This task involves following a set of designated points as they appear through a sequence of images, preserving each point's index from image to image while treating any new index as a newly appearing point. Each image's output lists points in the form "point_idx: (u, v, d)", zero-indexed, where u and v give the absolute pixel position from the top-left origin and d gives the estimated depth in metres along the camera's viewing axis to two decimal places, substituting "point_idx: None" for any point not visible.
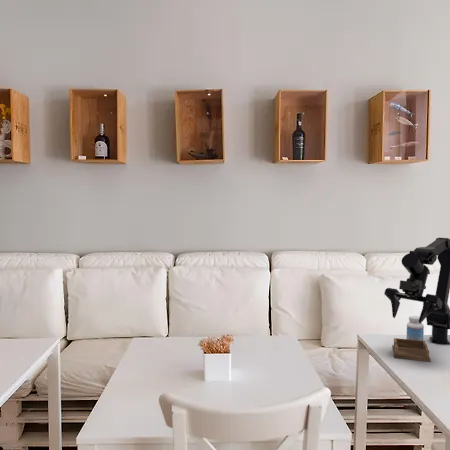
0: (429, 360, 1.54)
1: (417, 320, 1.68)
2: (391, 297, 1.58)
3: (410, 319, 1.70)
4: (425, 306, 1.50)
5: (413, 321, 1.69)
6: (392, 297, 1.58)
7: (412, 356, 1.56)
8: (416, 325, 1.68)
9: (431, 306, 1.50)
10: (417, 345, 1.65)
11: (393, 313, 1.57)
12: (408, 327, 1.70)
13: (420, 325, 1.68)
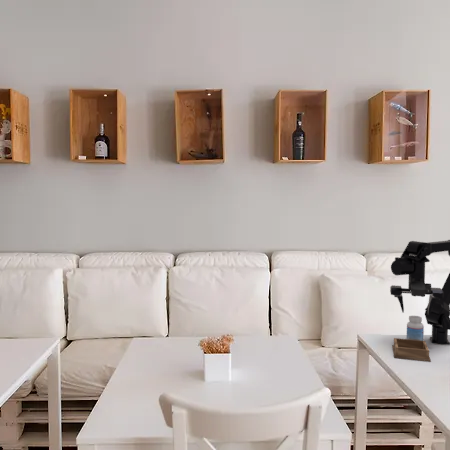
0: (429, 360, 1.54)
1: (417, 320, 1.68)
2: (399, 297, 1.69)
3: (410, 319, 1.70)
4: (433, 301, 1.66)
5: (413, 321, 1.69)
6: (400, 297, 1.69)
7: (412, 356, 1.56)
8: (416, 325, 1.68)
9: None
10: (417, 345, 1.65)
11: (402, 309, 1.71)
12: (408, 327, 1.70)
13: (420, 325, 1.68)
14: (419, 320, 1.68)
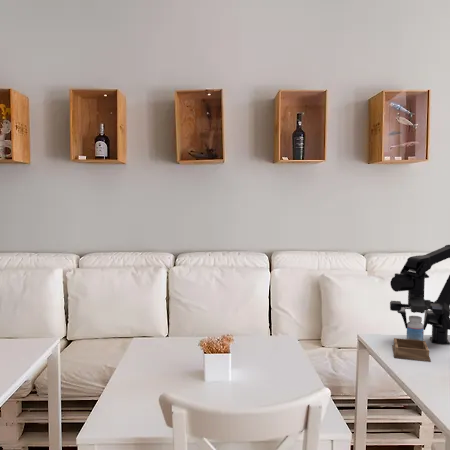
0: (429, 360, 1.54)
1: (417, 320, 1.68)
2: (402, 313, 1.69)
3: (410, 319, 1.70)
4: (428, 317, 1.67)
5: (413, 321, 1.69)
6: (404, 313, 1.69)
7: (412, 356, 1.56)
8: (416, 325, 1.68)
9: None
10: (417, 345, 1.65)
11: (406, 325, 1.71)
12: (408, 327, 1.70)
13: (420, 325, 1.68)
14: (419, 320, 1.68)
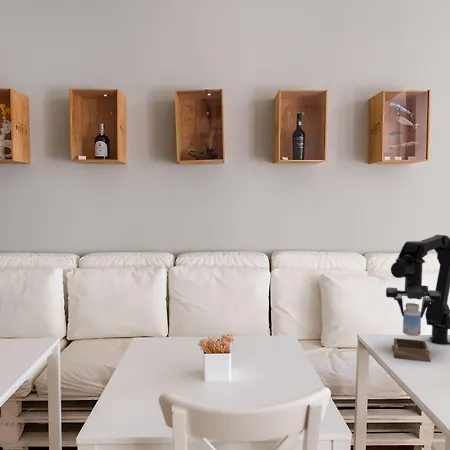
0: (429, 360, 1.54)
1: (414, 307, 1.61)
2: (399, 300, 1.62)
3: (407, 306, 1.63)
4: (426, 304, 1.60)
5: (410, 308, 1.62)
6: (400, 300, 1.62)
7: (412, 356, 1.56)
8: (413, 312, 1.61)
9: None
10: (417, 345, 1.65)
11: (402, 313, 1.64)
12: (405, 315, 1.63)
13: (417, 312, 1.61)
14: (416, 307, 1.61)
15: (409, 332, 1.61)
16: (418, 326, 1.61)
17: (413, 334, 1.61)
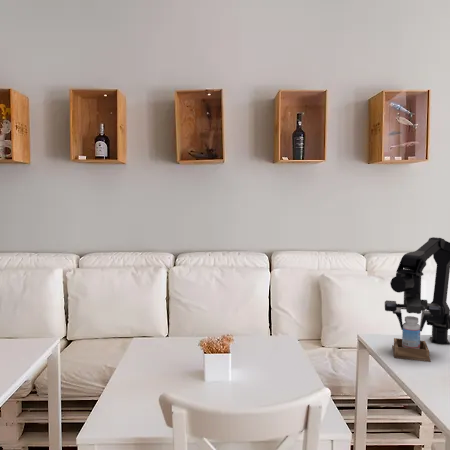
0: (429, 360, 1.54)
1: (413, 321, 1.59)
2: (398, 314, 1.60)
3: (406, 320, 1.60)
4: (425, 317, 1.58)
5: (409, 322, 1.59)
6: (399, 314, 1.59)
7: (412, 356, 1.56)
8: (412, 326, 1.58)
9: None
10: None
11: (401, 326, 1.61)
12: (404, 328, 1.60)
13: (416, 326, 1.58)
14: (415, 321, 1.59)
15: (409, 346, 1.59)
16: (418, 340, 1.59)
17: None
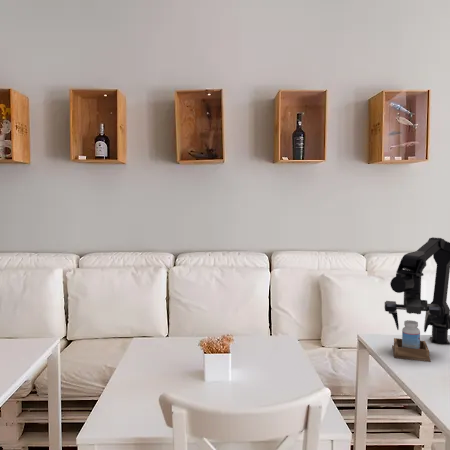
0: (429, 360, 1.54)
1: (413, 325, 1.59)
2: (394, 314, 1.60)
3: (405, 324, 1.60)
4: (429, 318, 1.57)
5: (409, 326, 1.59)
6: (395, 314, 1.60)
7: (412, 356, 1.56)
8: (412, 330, 1.59)
9: None
10: None
11: (397, 326, 1.62)
12: (403, 333, 1.60)
13: (416, 330, 1.59)
14: (415, 325, 1.59)
15: None
16: (417, 344, 1.59)
17: None
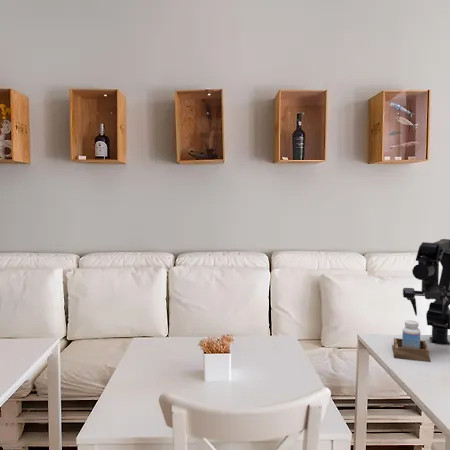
0: (429, 360, 1.54)
1: (413, 325, 1.59)
2: (412, 300, 1.65)
3: (406, 324, 1.60)
4: (447, 304, 1.62)
5: (409, 326, 1.59)
6: (413, 300, 1.65)
7: (412, 356, 1.56)
8: (412, 331, 1.58)
9: None
10: None
11: (415, 312, 1.66)
12: (404, 333, 1.60)
13: (416, 331, 1.59)
14: (415, 325, 1.59)
15: None
16: (417, 344, 1.59)
17: None
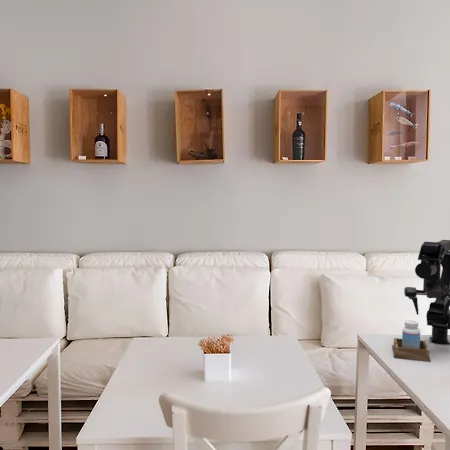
0: (429, 360, 1.54)
1: (413, 325, 1.59)
2: (414, 299, 1.65)
3: (406, 324, 1.60)
4: (449, 303, 1.62)
5: (409, 326, 1.59)
6: (415, 299, 1.65)
7: (412, 356, 1.56)
8: (412, 330, 1.59)
9: None
10: None
11: (417, 311, 1.67)
12: (404, 333, 1.60)
13: (416, 330, 1.59)
14: (415, 325, 1.59)
15: None
16: (417, 344, 1.59)
17: None
